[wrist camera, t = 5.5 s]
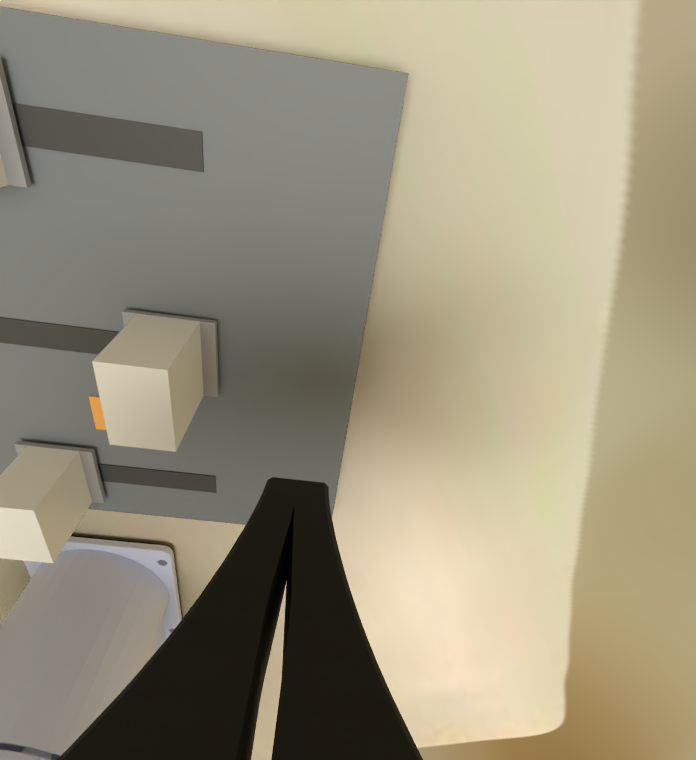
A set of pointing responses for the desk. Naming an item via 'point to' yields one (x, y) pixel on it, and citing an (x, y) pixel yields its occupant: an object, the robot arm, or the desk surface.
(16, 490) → the breaker handle
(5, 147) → the block
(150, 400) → the block
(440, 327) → the desk surface
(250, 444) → the panel
